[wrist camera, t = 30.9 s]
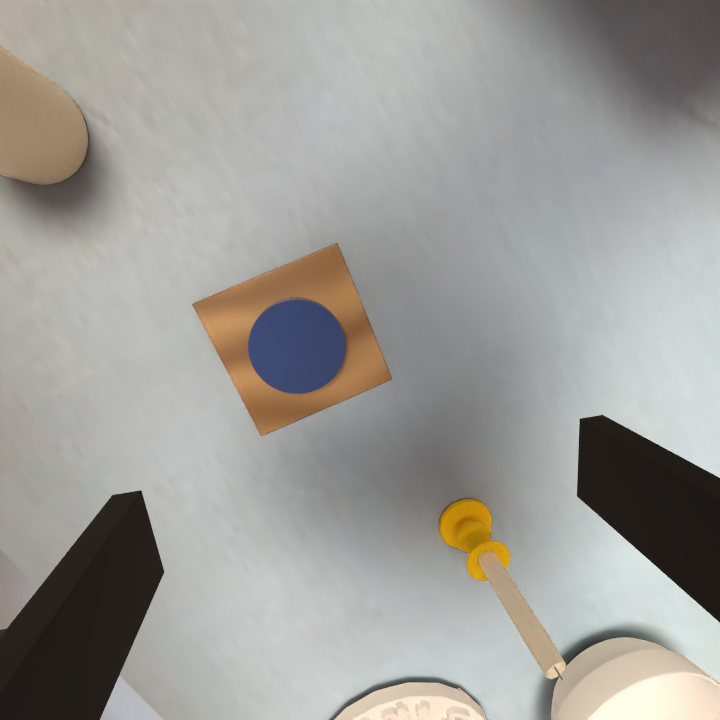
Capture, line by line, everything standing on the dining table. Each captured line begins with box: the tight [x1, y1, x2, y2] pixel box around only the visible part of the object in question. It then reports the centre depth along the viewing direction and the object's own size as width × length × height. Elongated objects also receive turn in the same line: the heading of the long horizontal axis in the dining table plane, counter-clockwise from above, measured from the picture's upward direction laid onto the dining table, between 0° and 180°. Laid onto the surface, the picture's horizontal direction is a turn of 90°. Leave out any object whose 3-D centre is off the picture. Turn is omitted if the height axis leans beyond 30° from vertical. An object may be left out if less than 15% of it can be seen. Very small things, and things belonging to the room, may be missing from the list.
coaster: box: [192, 243, 392, 436], centre depth 33 cm, size 12×12×1 cm
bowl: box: [551, 637, 720, 720], centre depth 44 cm, size 18×18×7 cm
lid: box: [248, 297, 346, 394], centre depth 32 cm, size 7×7×2 cm
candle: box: [439, 499, 566, 680], centre depth 33 cm, size 5×5×16 cm
